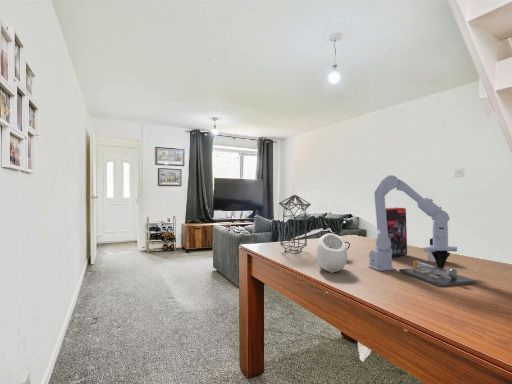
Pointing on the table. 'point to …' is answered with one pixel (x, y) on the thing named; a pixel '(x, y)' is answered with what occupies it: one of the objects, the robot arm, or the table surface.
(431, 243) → the medicine bottle
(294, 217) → the geometric lantern
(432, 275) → the panel
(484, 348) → the table surface
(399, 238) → the graphics card box
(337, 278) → the table surface
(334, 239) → the skull planter
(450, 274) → the cable arm
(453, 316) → the table surface
